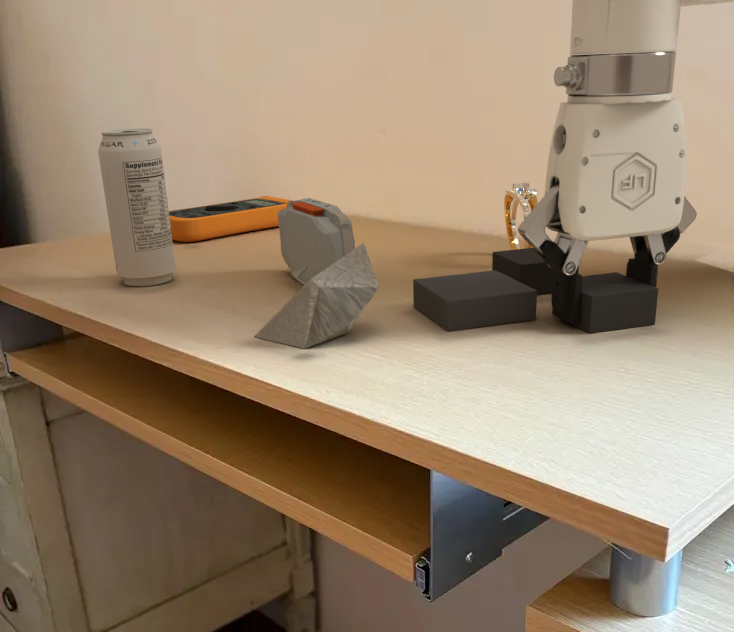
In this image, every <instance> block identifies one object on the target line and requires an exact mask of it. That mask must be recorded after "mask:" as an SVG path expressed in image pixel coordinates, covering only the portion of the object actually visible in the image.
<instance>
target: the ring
mask: <svg viewBox="0 0 734 632" xmlns="http://www.w3.org/2000/svg"><path fill="white" fill-rule="evenodd" d="M505 193H506V194H505V195H504V199H503V211H504V212H503V213H504V222H505V227H506V228H505V229H506V234H507V238H508V243H509V247H510V250H516V249H525V248H533V247H532V246H531V245H530V244H529V243H528V242H527V241H526V240H525V239H524V238H523V240H522V245H521V247H520V244H519V239H518V235H517V223H516V222H517V220H516V219H517V211H518V207H519V205H520V208H521V210H522V214H523V220H524V219H525V218H526V217H527V216H528V215H529V213H530V212H531V211H532V210H533V209H534V208H535V206H536V205H537V204H538V203H539V201H538V197H537V194H538V190H537V188H530V183H529V182H518V183H512V189H507V190H505ZM528 204H529V205H528Z"/></svg>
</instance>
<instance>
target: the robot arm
mask: <svg viewBox="0 0 734 632" xmlns="http://www.w3.org/2000/svg"><path fill="white" fill-rule="evenodd" d="M727 3H734V0H572V6H571V7H572V8H571V10H572V11H571V23H570V25H571V26H570V27H571V28H570V45H569V46H570V48H569V56H568V57H567V64H566V65H565V66H557V67H556V68H555V70H554V73H553V83H554V84H555V86H556V87H564V88H565V94H566V95H567V101H563V102H560V104H559V107H558V111H557V114H556V118H555V122H554V126H553V131H552V136H551V141H550V146H549V151H548V160H547V166H546V175H545V184H544V196H543V197H542V198H541V199H540V200H539V201H538V204H537V205H536V206H535V208H534V209H533V210H532V211H531V210H530V211H529V212H530V213H529V215H528V216H527V217H526V218H525V219H524V218H523V220H522V222H521V223H520V224H519V225H518V227H517V232H518V234H519V235H520V237H522V239H523V240H524V239H525V240H526V241H527V242H528V243H529V244H530V245H531V246H532V247H531V248H534V250H535V251H536V252H537V253H538V254H539V255H540V256H541V257H542V258H543V260H544V261H545V262H546V263H547V265H548V267H550V268H552V269H553V279H552V293H551V300H550V302H551V307H552V308H553V309H554V314H555V315H554V314H553V315H554V316H555V317H557V318H559V319H561V320H563V321H565V322H567V323H569V324H571V325H573V323H578V321H579V320H580V310H581V294H582V287H583V277H582V276H583V275H582V274H581V273H579V272H578V273H577V268H578V266H579V267H580V263H581V260H582V259H583V255H584V253H585V252H586V251H585V250H586V248H587V246H588V244H589V242H593V241H603V240H613V239H623V238H629V240H630V244H631V247H632V252H633V255H634V257H631V258H628V259H627V260H628V261H627V263H626V270H625V271H626V272H625V273H626V274H625V276H627V277H630V278H633V279H635V280H638V281H641V282H643V283H646V284H648V285H651V286H654V287H656V288H657V284H658V283H657V281H658V273H659V272H658V270H659V266H661V265H663V264H664V263H665V262H666V260H667V257H668V256H667V253H668V252H669V251H670V250H671V249H673V247H674V246H675V245H676V244H677V242H678V241H679V240H680V238H681V234H684V233H685V231H686V230H687V229H688V228H689V227H690V225H691V224H692V223H693V222H694V221H695V220H696V218H697V216H698V213H697V210H696V209H695V208H694V206H693V205H692V204H691V202H690V201H689V200H688V198H687V197H686V196H685V186H686V163H687V162H686V158H687V157H686V155H687V154H686V153H687V152H686V151H687V150H686V149H687V147H686V145H687V144H686V127H685V115H684V109H683V104H682V99H681V98H678V97H677V98H675V97H673V90H674V89H673V88H674V77H675V67H676V57H677V52H676V51H677V48H678V38H679V29H680V28H679V27H680V17H681V8H682V7H690V6H701V5H707V6H708V5H717V4H718V5H719V4H727ZM546 229H548V230H551V231H552V232H557V233H556V236H555V238H554V241H553V240H552V238H550V237H549V236H548V234H547V233H546ZM552 308H551V309H552Z"/></svg>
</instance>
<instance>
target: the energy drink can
mask: <svg viewBox="0 0 734 632" xmlns="http://www.w3.org/2000/svg"><path fill="white" fill-rule="evenodd" d="M101 135H102V138H101V141H100V143H99V146H98V148H97V149H98V150H97V154H98V159H99V160H98V161H99V166H100V173H101V180H102V186H103V192H104V199H105V206H106V212H107V218H108V225H109V231H110V237H111V244H112V250H113V251H112V252H113V258H114V264H115V270H116V276H118V277H119V278H121V279H122V281H123V284H124V285H126V286H129V287H147V286H149V287H151V286H157V285H161V284H162V285H163V284H165V283H168V282H170V281H171V280H173V279H172V278H173V276H172V275H173V273H174V272H175V271H176V270H177V269H176V267H177V266H176V258H175V252H174V251H175V250H174V243H173V242H174V241H173V240H172V234H171V226H170V218H169V211H170V210H169V203H168V196H167V187H166V180H165V173H164V163H163V156H162V148H161V146H160V143H159V142H158V140H157V139H156V138H155V137H154V135H153V129H152V128H123V129H122V128H121V129H112V130H111V129H110V130H104V131H101Z"/></svg>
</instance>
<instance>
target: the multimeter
mask: <svg viewBox="0 0 734 632" xmlns="http://www.w3.org/2000/svg"><path fill="white" fill-rule="evenodd" d="M289 201H293V200H292V199H286V198H282V197H277V196H269V195H262V196H258V197H253V198H246V199H240V200H235V201H227V202H221V203H214V204H207V205H202V206H201V205H200V206H194V207H193V206H192V207H189V208H188V207H187V208H180V209H173V210H169V218H170V226H171V234H172V241H176V242H179V243H195V242H201V241H206V240H211V239H216V238H220V237H226V236H230V235H236V234H241V233H242V234H243V233H249V232H253V231H259V230H265V229H272V228H279V222H278V212H277V211H280V210H282V209H285V208H287V203H288V202H289Z"/></svg>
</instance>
